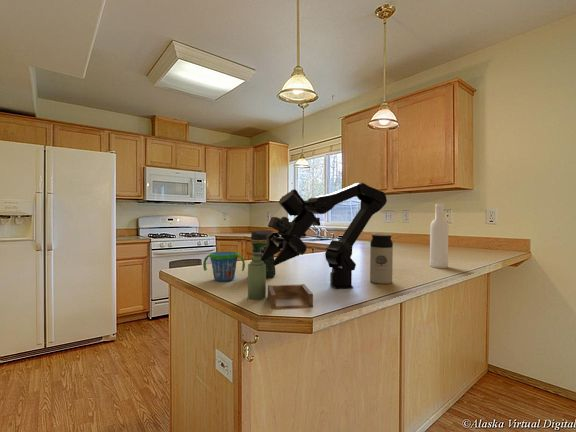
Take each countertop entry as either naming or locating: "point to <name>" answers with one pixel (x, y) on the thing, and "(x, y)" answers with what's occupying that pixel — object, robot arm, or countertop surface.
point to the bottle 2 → (439, 239)
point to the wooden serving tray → (289, 296)
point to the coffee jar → (262, 249)
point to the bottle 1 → (256, 278)
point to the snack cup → (224, 265)
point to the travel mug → (381, 258)
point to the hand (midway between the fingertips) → (267, 262)
